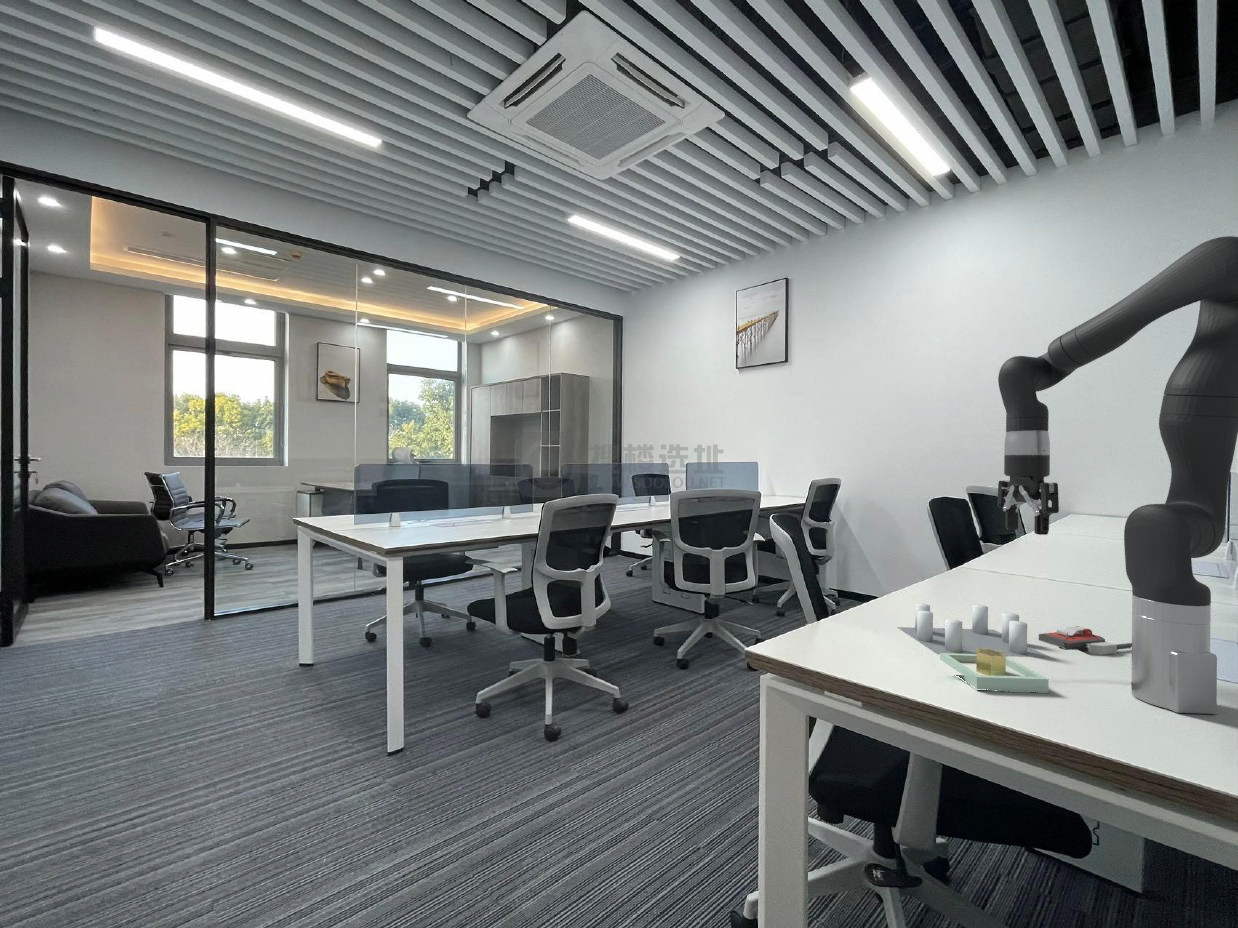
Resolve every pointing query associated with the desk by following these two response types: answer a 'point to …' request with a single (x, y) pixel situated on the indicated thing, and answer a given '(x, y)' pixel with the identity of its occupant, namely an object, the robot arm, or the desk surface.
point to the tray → (1000, 683)
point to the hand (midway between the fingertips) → (1025, 531)
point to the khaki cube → (991, 662)
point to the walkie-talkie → (1082, 641)
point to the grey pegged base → (971, 634)
